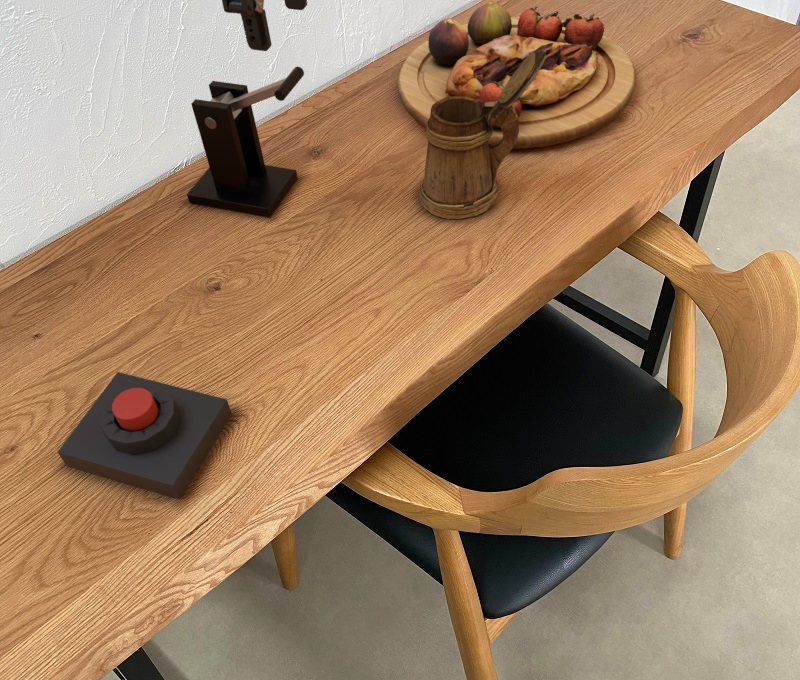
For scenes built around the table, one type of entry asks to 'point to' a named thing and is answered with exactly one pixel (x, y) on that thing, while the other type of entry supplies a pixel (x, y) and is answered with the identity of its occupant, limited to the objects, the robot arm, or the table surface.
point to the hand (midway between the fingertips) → (279, 27)
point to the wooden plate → (501, 56)
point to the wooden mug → (471, 147)
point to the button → (135, 409)
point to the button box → (148, 437)
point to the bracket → (236, 159)
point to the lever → (262, 92)
